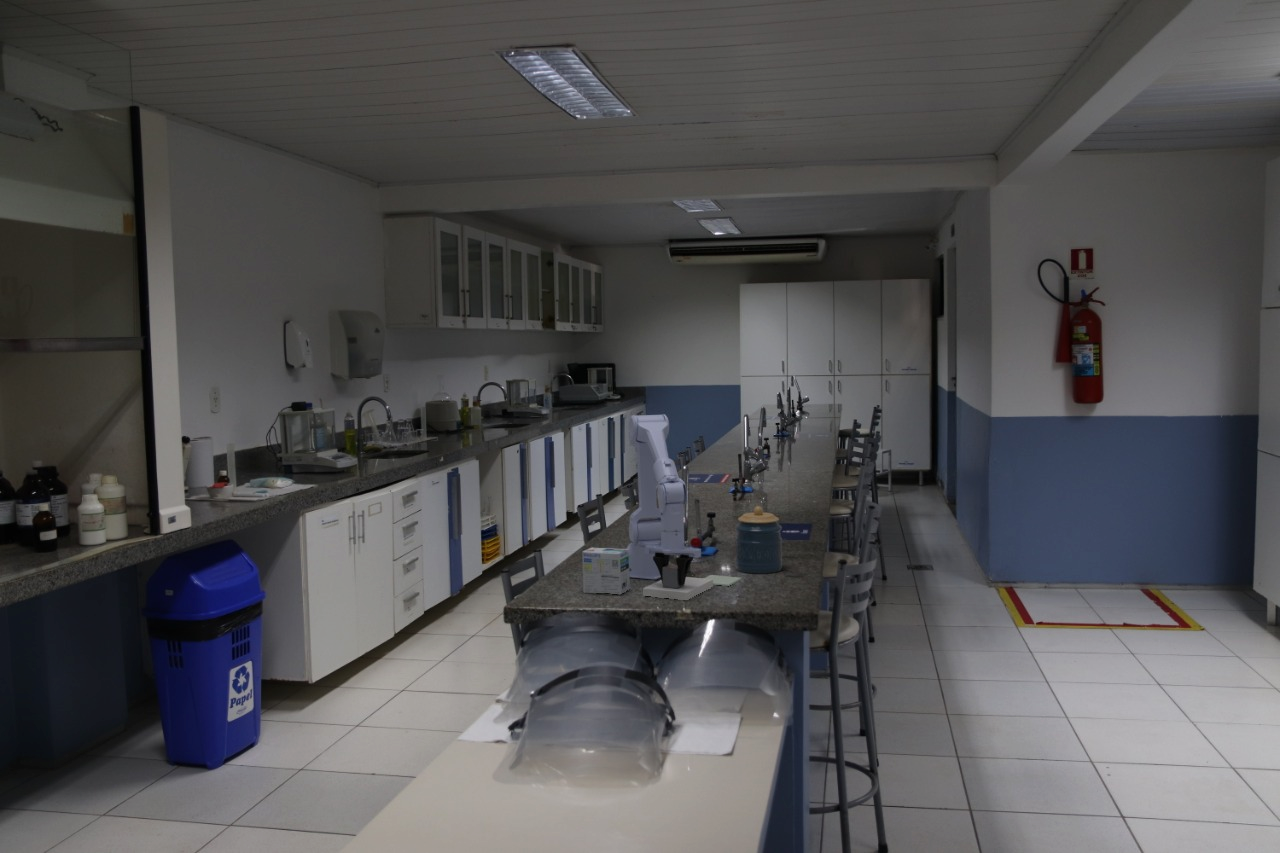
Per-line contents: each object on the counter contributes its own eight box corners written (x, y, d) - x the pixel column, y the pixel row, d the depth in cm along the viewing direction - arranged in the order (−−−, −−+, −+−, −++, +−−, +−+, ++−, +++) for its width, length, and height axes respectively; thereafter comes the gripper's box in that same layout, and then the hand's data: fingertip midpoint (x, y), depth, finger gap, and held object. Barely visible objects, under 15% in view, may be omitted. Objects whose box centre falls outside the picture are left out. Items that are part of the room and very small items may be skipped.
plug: (662, 595, 252) (662, 567, 251) (669, 591, 255) (669, 564, 255) (677, 596, 250) (676, 568, 250) (684, 593, 254) (683, 565, 253)
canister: (731, 573, 276) (730, 509, 275) (740, 563, 288) (739, 502, 287) (778, 575, 272) (777, 510, 271) (785, 565, 285) (785, 503, 283)
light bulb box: (630, 589, 258) (630, 548, 258) (621, 595, 252) (620, 553, 251) (592, 587, 262) (591, 546, 261) (582, 593, 256) (581, 551, 255)
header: (643, 596, 251) (642, 588, 251) (671, 582, 265) (671, 575, 265) (686, 600, 246) (686, 592, 245) (713, 587, 260) (713, 579, 260)
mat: (696, 583, 264) (696, 581, 264) (710, 576, 272) (710, 574, 272) (728, 586, 260) (728, 584, 260) (741, 579, 268) (741, 577, 268)
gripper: (639, 530, 251) (640, 584, 252) (692, 534, 245) (693, 589, 246) (652, 526, 258) (653, 578, 259) (704, 529, 251) (704, 583, 252)
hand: (673, 583), depth 253 cm, fingers closed on plug, 4 cm apart
